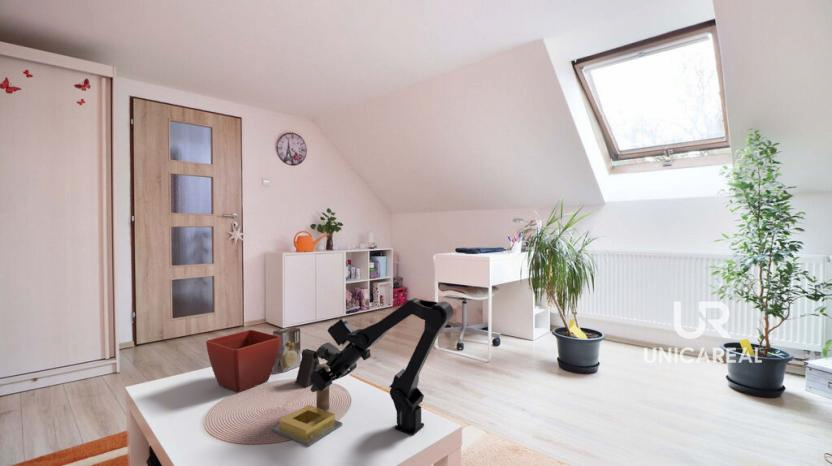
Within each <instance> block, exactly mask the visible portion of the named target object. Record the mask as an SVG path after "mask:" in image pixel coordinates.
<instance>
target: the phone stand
mask: <svg viewBox="0 0 832 466" xmlns="http://www.w3.org/2000/svg"><path fill="white" fill-rule="evenodd" d="M318 364H321V362H320V358H319V357H318V356H317V350H316V351H315V350H313V349H312V350H311V349H307V348H304V349H302V350H301V363H300V366H299V367H298V372H297V375H296V379H295V383H294V384H295V385H298V386H301V387H304V388H306V387H307V388H308V386H309V387H312V385H313V383H314V382H313V380H312V379H311V377H310V374H311V373H312V372H313V371H314V370H315V369H316V366H317V365H318Z"/></svg>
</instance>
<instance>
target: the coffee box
mask: <svg viewBox="0 0 832 466" xmlns="http://www.w3.org/2000/svg"><path fill="white" fill-rule="evenodd" d="M272 335H275V336H279V337H280V343H279V348H278V353H277V356H276V360H275V363H274V366H273V371H277V372H281V373H286V372H288V371H291V370H294V369H296V368H299V367H300V363H301V359H302V351H301V328H300V327H294V326H288V327H285V328H281V329H277V330H276V329H275V330H273V331H272Z"/></svg>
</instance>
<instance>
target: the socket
mask: <svg viewBox="0 0 832 466" xmlns="http://www.w3.org/2000/svg"><path fill="white" fill-rule="evenodd" d="M342 426H343V422H341V421H338V420H336V414H335V413H334V412H330V411H329V410H327V411H325V410H322V409H319V408H317V406H316V407H315V406H313V405H310V404H308V405H306V406H304V407H302V408H300V409H298V410H296V411H294V412H292V413H290V414H288V415H286V416H284V417H282V418H280V419H279V423H278V424H277V425H275V426H273V427H271V432H274V433H275V434H279V436H280V435H281V436H283V437H285V438H287V439H290V440H292V441H295V442H296V443H299V444H302V445H303V446H305V447H311V446H312V445H314V444H315V443H317V442H318V441H320V440H322V439H323V438H325V437H326V436H328V435H329V434H331V433H333V432H334V431H336V430H337V429H339V428H340V427H342Z"/></svg>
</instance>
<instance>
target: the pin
mask: <svg viewBox="0 0 832 466" xmlns="http://www.w3.org/2000/svg"><path fill="white" fill-rule="evenodd" d="M319 367H324V369H325V370H326V371H327V372H328V371H330V369H329V366H327V364H326V362H324V363H320V364H318V365H317V366H316V369H317V368H319ZM315 398H316V400H315V401H316V408H319V409H322V410H325V411H329V410H330V386H329V387H328V388H326V389H325V390H323V391H320V390H319V391H316V397H315Z"/></svg>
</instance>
